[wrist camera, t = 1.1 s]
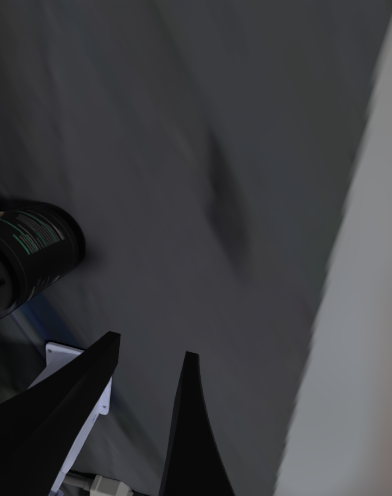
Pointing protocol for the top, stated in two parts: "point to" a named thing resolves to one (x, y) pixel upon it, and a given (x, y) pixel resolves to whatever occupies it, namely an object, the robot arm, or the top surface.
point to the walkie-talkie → (100, 486)
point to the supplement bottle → (35, 252)
